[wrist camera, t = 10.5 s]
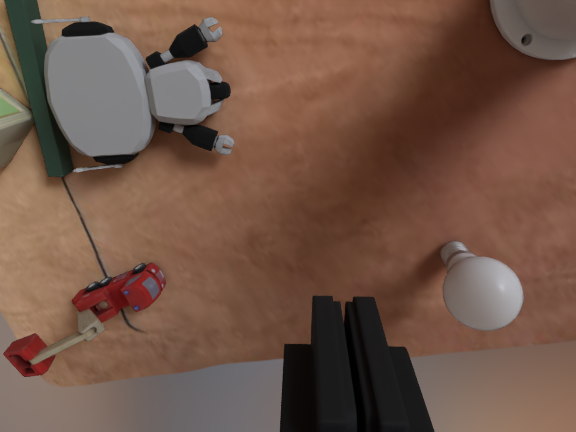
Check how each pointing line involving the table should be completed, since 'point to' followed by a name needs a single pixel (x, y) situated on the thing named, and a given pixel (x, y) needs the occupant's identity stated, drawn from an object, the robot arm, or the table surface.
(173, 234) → the table surface
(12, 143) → the toy refrigerator
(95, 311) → the toy fire truck
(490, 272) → the lightbulb
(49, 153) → the rail
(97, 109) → the robot toy
